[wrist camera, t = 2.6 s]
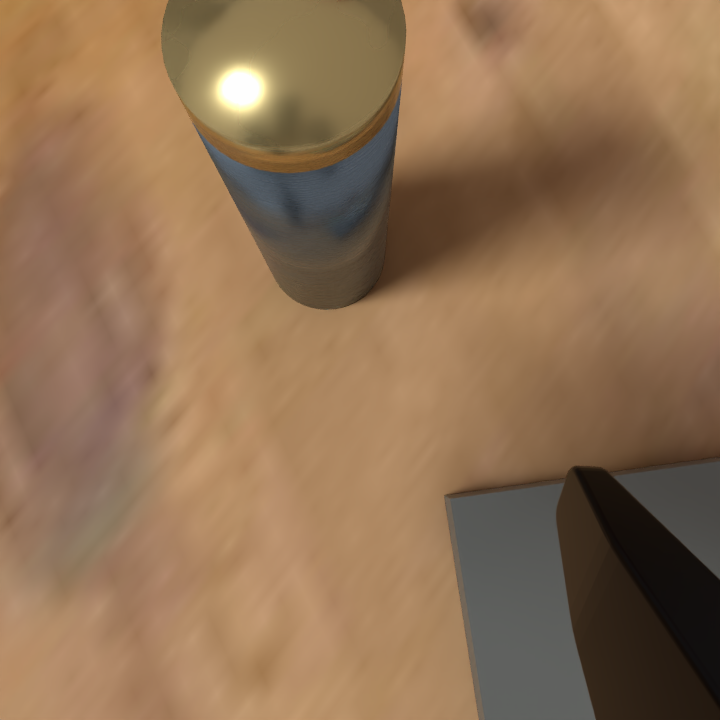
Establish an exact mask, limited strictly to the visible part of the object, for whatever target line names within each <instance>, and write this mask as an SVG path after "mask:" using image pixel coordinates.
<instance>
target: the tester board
mask: <svg viewBox="0 0 720 720" xmlns="http://www.w3.org/2000/svg"><path fill="white" fill-rule="evenodd" d="M609 473H610V474H611V475H612V476H613V477H614V478H615V479H616V480H617V481H618V482H619V483H620V484H621V485H622V486H624V487H625V488H626V489H627V490H628V491H629V492H630V493H631V494H632V495H633V496H634V497H635V498H636V499H637V500H638V501H639V502H640V503H641V504H642V505H643V506H644V507H645V508H646V509H647V510H648V511H649V512H651V513H652V514H653V515H654V516H655V517H656V518H657V519H658V520H659V521H660V522H661V523H662V524H663V525H664V526H665V527H666V528H667V529H668V530H669V531H670V532H671V533H672V534H673V535H674V536H675V537H676V538H678V539H679V540H680V541H681V542H682V543H683V544H684V545H685V546H686V547H687V548H688V549H689V550H690V551H691V552H692V553H693V554H694V555H695V556H696V557H697V558H698V559H699V560H700V561H701V562H702V563H703V564H704V565H706V566H707V567H708V568H709V569H710V570H711V571H712V572H713V573H714V574H715V575H716V576H717V577H718V578H719V579H720V457H716V458H708V459H701V460H694V461H687V462H680V463H673V464H665V465H658V466H651V467H644V468H637V469H630V470H622V471H615V472H609ZM565 480H566V478H565V479H558V480H551V481H544V482H537V483H529V484H522V485H515V486H508V487H501V488H494V489H486V490H479V491H472V492H465V493H458V494H451V495H444V497H445V504H446V510H447V517H448V523H449V530H450V536H451V543H452V549H453V555H454V562H455V568H456V575H457V581H458V588H459V594H460V601H461V607H462V613H463V620H464V626H465V633H466V639H467V646H468V652H469V659H470V665H471V671H472V678H473V684H474V691H475V697H476V704H477V710H478V717H479V720H596V719H595V715H594V711H593V707H592V704H591V700H590V696H589V692H588V689H587V685H586V681H585V677H584V673H583V670H582V666H581V662H580V658H579V655H578V651H577V647H576V643H575V638H574V634H573V630H572V624H571V618H570V612H569V605H568V598H567V592H566V585H565V578H564V572H563V565H562V558H561V551H560V545H559V538H558V531H557V524H556V508H557V504H558V501H559V498H560V495H561V492H562V489H563V486H564V483H565Z"/></svg>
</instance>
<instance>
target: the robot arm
mask: <svg viewBox="0 0 720 720" xmlns="http://www.w3.org/2000/svg"><path fill="white" fill-rule="evenodd" d="M556 524H557V531H558V538H559V545H560V551H561V558H562V565H563V572H564V578H565V585H566V592H567V598H568V605H569V612H570V618H571V624H572V630H573V634H574V638H575V643H576V647H577V651H578V655H579V658H580V662H581V666H582V670H583V673H584V677H585V681H586V685H587V689H588V692H589V696H590V700H591V704H592V707H593V711H594V715H595V719H596V720H720V579H719V578H718V577H717V576H716V575H715V574H714V573H713V572H712V571H711V570H710V569H709V568H708V567H707V566H706V565H704V564H703V563H702V562H701V561H700V560H699V559H698V558H697V557H696V556H695V555H694V554H693V553H692V552H691V551H690V550H689V549H688V548H687V547H686V546H685V545H684V544H683V543H682V542H681V541H680V540H679V539H678V538H676V537H675V536H674V535H673V534H672V533H671V532H670V531H669V530H668V529H667V528H666V527H665V526H664V525H663V524H662V523H661V522H660V521H659V520H658V519H657V518H656V517H655V516H654V515H653V514H652V513H651V512H649V511H648V510H647V509H646V508H645V507H644V506H643V505H642V504H641V503H640V502H639V501H638V500H637V499H636V498H635V497H634V496H633V495H632V494H631V493H630V492H629V491H628V490H627V489H626V488H625V487H624V486H622V485H621V484H620V483H619V482H618V481H617V480H616V479H615V478H614V477H613V476H612V475H611V474H610V473H609V472H608V471H607V470H605V469H603V468H601V467H592V466H574V467H572V468H571V469H570V470H569V472H568V474H567V477H566V480H565V483H564V486H563V489H562V492H561V495H560V498H559V501H558V504H557V508H556Z"/></svg>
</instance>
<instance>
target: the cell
mask: <svg viewBox="0 0 720 720" xmlns="http://www.w3.org/2000/svg"><path fill="white" fill-rule="evenodd" d="M161 40H162V53H163V59H164V64H165V67H166V70H167V73H168V76H169V78H170V80H171V82H172V84H173V86H174V88H175V90H176V92H177V94H178V96H179V98H180V100H181V102H182V103H183V105H184V107H185V109H186V111H187V113H188V115H189V117H190V119H191V121H192V122H193V124H194V126H195V128H196V130H197V132H198V134H199V136H200V138H201V139H202V141H203V143H204V145H205V147H206V149H207V151H208V153H209V155H210V157H211V158H212V160H213V162H214V164H215V166H216V168H217V170H218V172H219V174H220V176H221V177H222V179H223V181H224V183H225V185H226V187H227V189H228V191H229V193H230V194H231V196H232V198H233V200H234V202H235V204H236V206H237V208H238V210H239V212H240V213H241V215H242V217H243V219H244V221H245V223H246V225H247V227H248V229H249V230H250V232H251V234H252V236H253V238H254V240H255V242H256V244H257V246H258V248H259V249H260V251H261V253H262V255H263V257H264V259H265V261H266V263H267V265H268V266H269V268H270V270H271V272H272V274H273V276H274V278H275V280H276V282H277V283H278V285H279V286H280V288H281V289H282V290H283V291H284V292H285V293H286V294H287V295H288V296H289V297H291V298H292V299H293V300H295V301H297V302H298V303H300V304H302V305H305V306H308V307H311V308H316V309H326V310H327V309H337V308H342V307H345V306H348V305H350V304H352V303H354V302H356V301H358V300H359V299H361V298H362V297H364V296H365V295H366V294H367V293H368V292H369V291H370V290H371V289H372V288H373V286H374V285H375V283H376V282H377V280H378V278H379V276H380V274H381V271H382V268H383V264H384V258H385V248H386V238H387V228H388V217H389V207H390V197H391V187H392V177H393V166H394V156H395V146H396V136H397V126H398V115H399V105H400V95H401V85H402V75H403V65H404V54H405V43H406V23H405V15H404V11H403V6H402V2H401V0H169V1H168V4H167V7H166V10H165V14H164V18H163V24H162V32H161Z"/></svg>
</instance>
